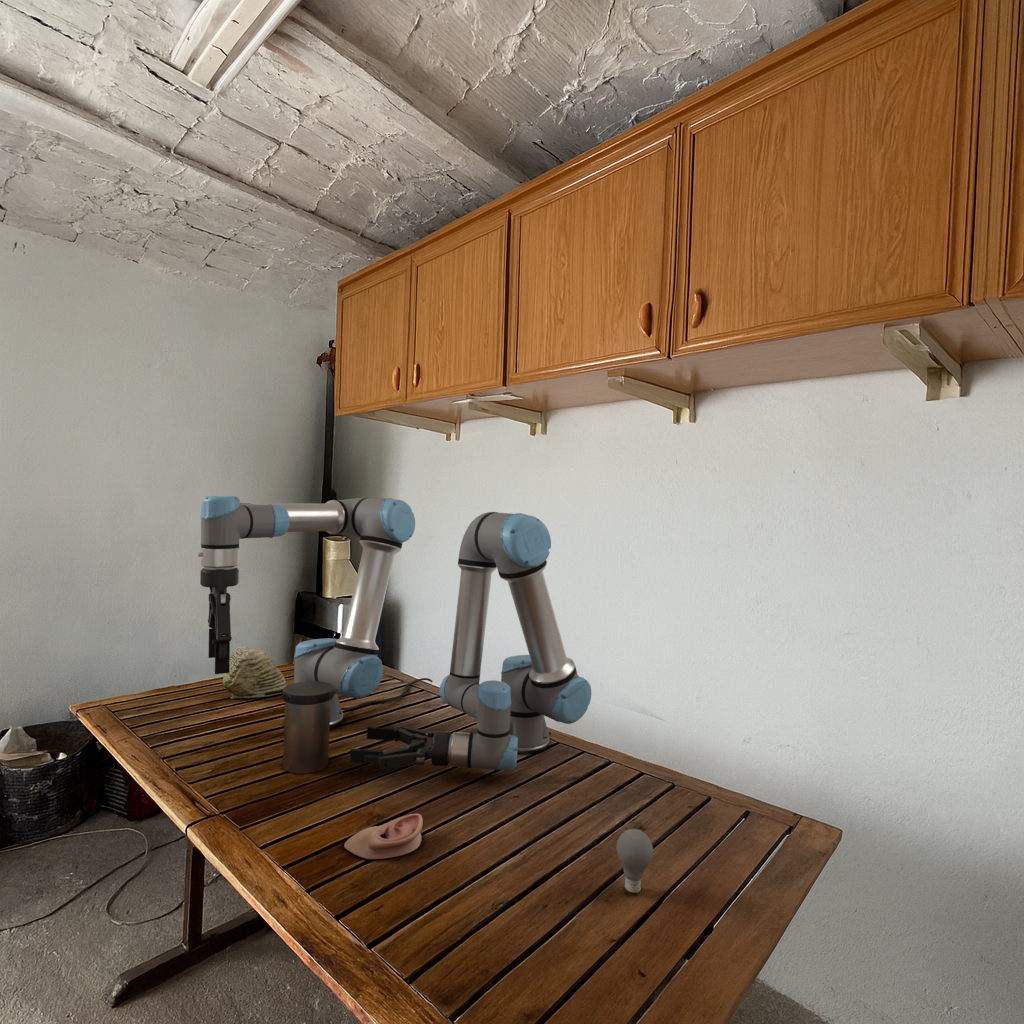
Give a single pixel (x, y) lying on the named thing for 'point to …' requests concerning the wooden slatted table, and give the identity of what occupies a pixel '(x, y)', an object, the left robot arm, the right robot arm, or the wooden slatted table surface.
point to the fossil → (252, 674)
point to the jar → (306, 737)
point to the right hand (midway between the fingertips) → (359, 743)
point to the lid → (308, 692)
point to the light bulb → (634, 857)
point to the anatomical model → (387, 838)
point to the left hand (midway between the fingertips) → (218, 664)
